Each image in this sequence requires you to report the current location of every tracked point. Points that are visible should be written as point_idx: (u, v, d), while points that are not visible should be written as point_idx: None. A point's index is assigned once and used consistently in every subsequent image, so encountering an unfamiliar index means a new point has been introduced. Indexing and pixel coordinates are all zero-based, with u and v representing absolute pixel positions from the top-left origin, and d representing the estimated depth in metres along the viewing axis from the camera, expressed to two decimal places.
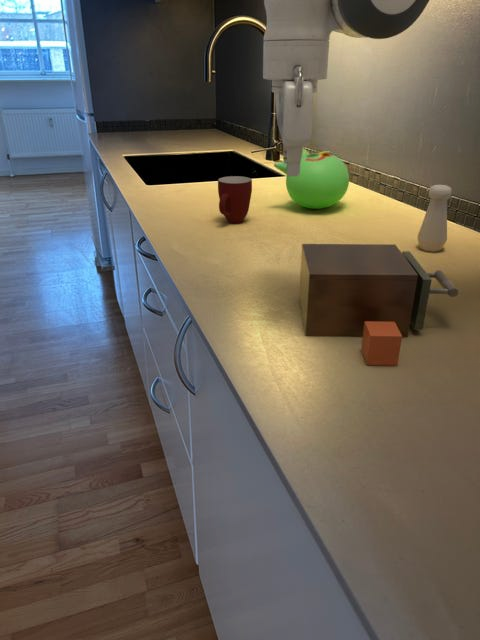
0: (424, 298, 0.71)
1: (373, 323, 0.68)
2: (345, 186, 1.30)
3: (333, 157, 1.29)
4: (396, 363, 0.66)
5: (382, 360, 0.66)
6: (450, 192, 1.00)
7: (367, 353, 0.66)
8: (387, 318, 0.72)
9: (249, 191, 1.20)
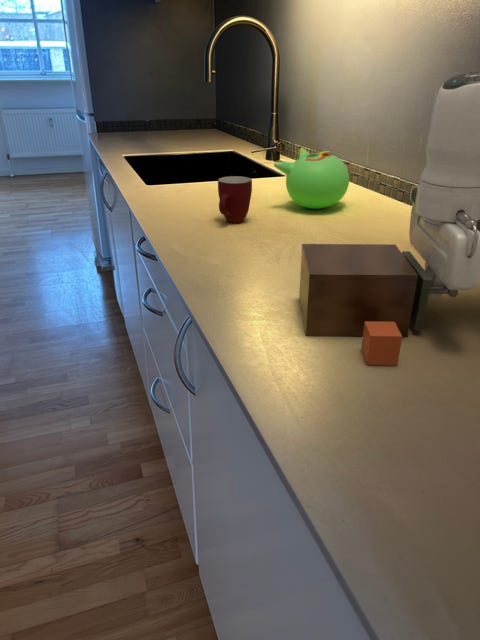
0: (424, 298, 0.71)
1: (373, 323, 0.68)
2: (345, 186, 1.30)
3: (333, 157, 1.29)
4: (396, 363, 0.66)
5: (382, 360, 0.66)
6: None
7: (367, 353, 0.66)
8: (387, 318, 0.72)
9: (249, 191, 1.20)
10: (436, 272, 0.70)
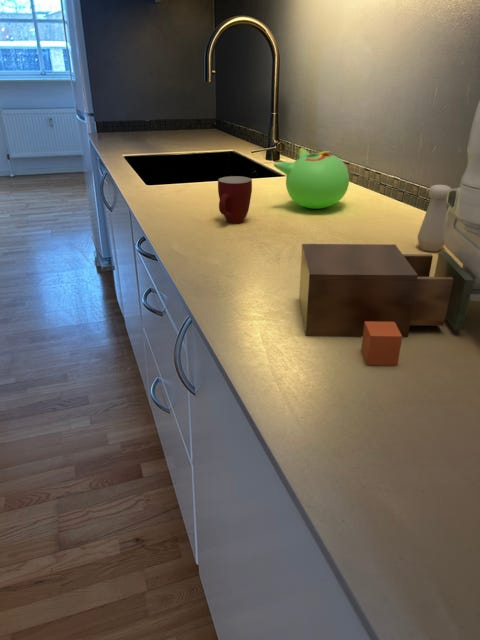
0: (465, 298, 0.71)
1: (373, 323, 0.68)
2: (345, 186, 1.30)
3: (333, 157, 1.29)
4: (396, 363, 0.66)
5: (382, 360, 0.66)
6: None
7: (367, 353, 0.66)
8: (387, 318, 0.72)
9: (249, 191, 1.20)
10: (477, 276, 0.70)
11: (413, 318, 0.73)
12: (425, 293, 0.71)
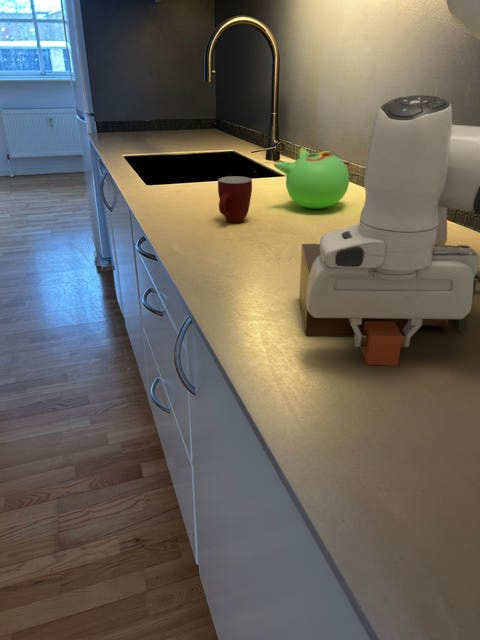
0: None
1: (374, 323, 0.68)
2: (345, 186, 1.30)
3: (333, 157, 1.29)
4: (396, 363, 0.66)
5: (382, 360, 0.66)
6: None
7: (367, 353, 0.66)
8: None
9: (249, 191, 1.20)
10: (426, 316, 0.63)
11: None
12: None
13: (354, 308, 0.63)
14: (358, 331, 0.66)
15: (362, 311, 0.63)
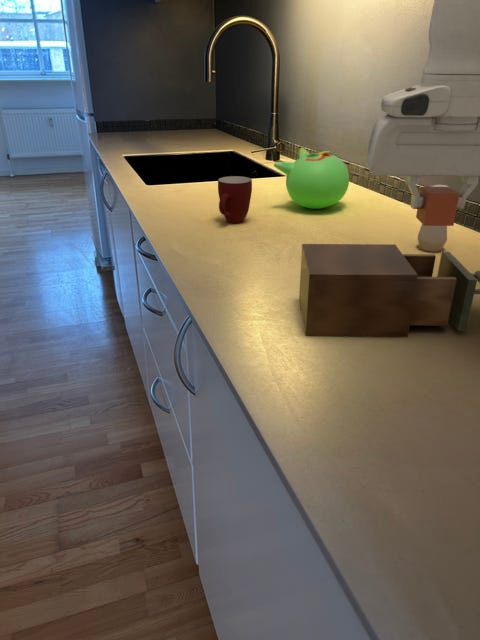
0: (469, 298, 0.71)
1: (430, 187, 0.71)
2: (345, 186, 1.30)
3: (333, 157, 1.29)
4: (452, 223, 0.69)
5: (439, 220, 0.69)
6: None
7: (425, 213, 0.69)
8: (387, 318, 0.72)
9: (249, 191, 1.20)
10: None
11: (416, 318, 0.73)
12: (428, 293, 0.71)
13: (415, 164, 0.66)
14: (416, 191, 0.69)
15: (422, 167, 0.66)
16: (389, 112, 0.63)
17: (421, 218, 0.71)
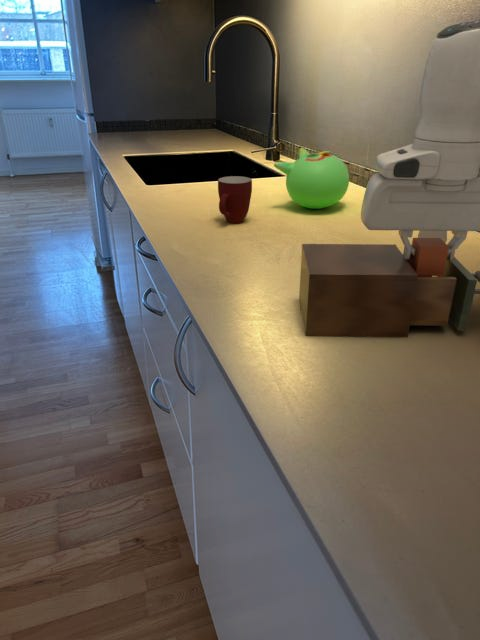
0: (469, 298, 0.71)
1: (421, 239, 0.74)
2: (345, 186, 1.30)
3: (333, 157, 1.29)
4: (442, 274, 0.73)
5: (430, 271, 0.73)
6: None
7: (416, 264, 0.73)
8: (387, 318, 0.72)
9: (249, 191, 1.20)
10: (471, 227, 0.70)
11: (416, 318, 0.73)
12: (428, 293, 0.71)
13: (406, 220, 0.70)
14: (408, 244, 0.73)
15: (413, 223, 0.70)
16: (382, 173, 0.67)
17: (413, 268, 0.75)
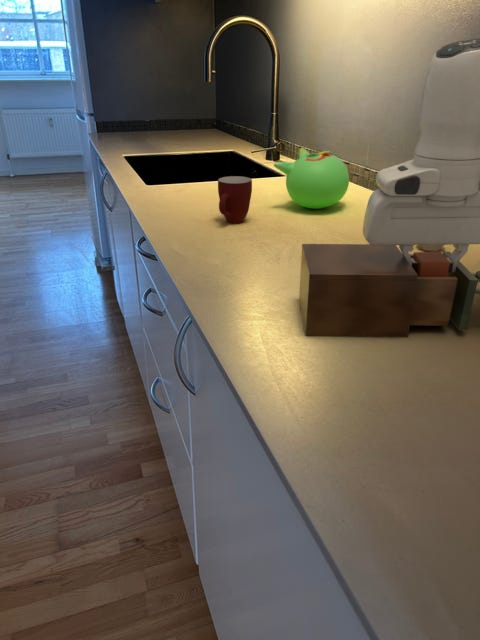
0: (470, 298, 0.71)
1: (422, 253, 0.76)
2: (345, 186, 1.30)
3: (333, 157, 1.29)
4: None
5: None
6: None
7: None
8: (387, 318, 0.72)
9: (249, 191, 1.20)
10: (472, 241, 0.71)
11: (417, 318, 0.73)
12: (429, 293, 0.71)
13: (408, 235, 0.71)
14: (409, 258, 0.73)
15: (415, 238, 0.71)
16: (383, 191, 0.68)
17: None
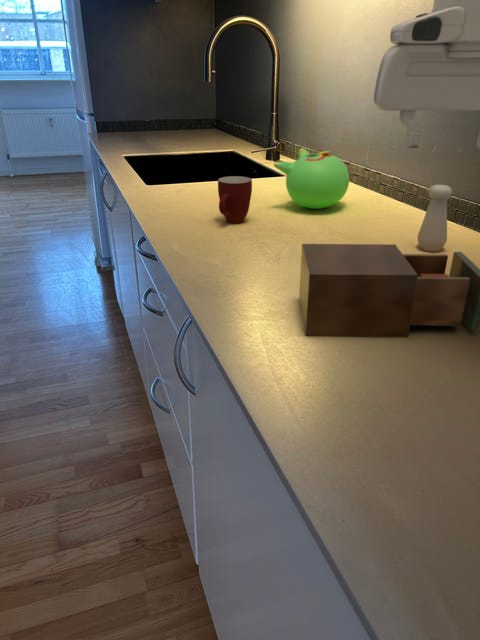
0: None
1: (428, 275, 0.77)
2: (345, 186, 1.30)
3: (333, 157, 1.29)
4: None
5: None
6: (450, 192, 1.00)
7: None
8: (387, 318, 0.72)
9: (249, 191, 1.20)
10: None
11: (429, 318, 0.73)
12: (442, 293, 0.71)
13: (426, 97, 0.63)
14: (410, 128, 0.65)
15: (433, 101, 0.63)
16: (399, 39, 0.60)
17: None
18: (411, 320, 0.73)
